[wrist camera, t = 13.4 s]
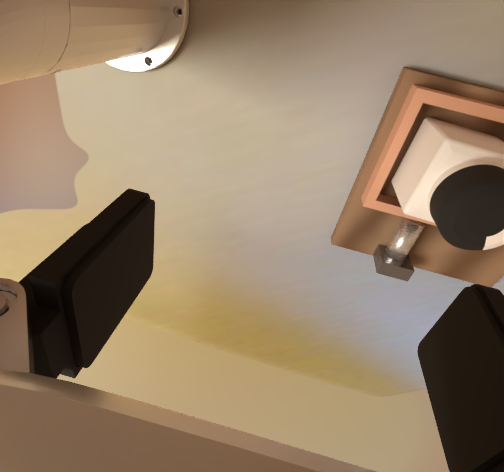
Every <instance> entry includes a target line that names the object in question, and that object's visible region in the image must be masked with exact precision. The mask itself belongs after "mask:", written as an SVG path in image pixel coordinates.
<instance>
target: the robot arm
mask: <svg viewBox="0 0 504 472" xmlns="http://www.w3.org/2000/svg"><path fill="white" fill-rule="evenodd" d="M179 9H181V10H182V15H180V14H179ZM188 17H189V0H0V85H1V84H4V83H9V82H13V81H17V80H22V79H27V78H31V77H36V76H42V75H47V74H52V73H56V72H61V71H65V70H70V69H74V68H79V67H84V66H89V65H93V64H98V63H103V62H105V63H107V64H109V65H111V66H112V67H115V68H117V69H120V70H123V71H128V72H145V71H149V70H153V69H155V68H157V67H159V66H161V65H163V64H165V63H166V62H167V61H168V60H169V59H171V58H172V56H173V55H174V54H175V53H176V51H177V50H178V49H179V47H180V45H181V43H182V41H183V39H184V36H185V32H186V29H187V25H188ZM150 58H151V59H152V61H153V63H152V62H151V61H150ZM154 219H155V202H154V200H151V199H150V196H149V194H148V193H144V192H140V191H137V190H133V189H128V190H126V191H125V192H124V193H123V194H121V195H120V196H119V197H118V198H117V199H116V200H115V201H113V202H112V203H111V204H110V205H109V206H108V207H107V208H105V209H104V210H103V211H102V212H101V213H100V214H99V215H98V216H96V217H95V218H94V219H93V220H92V221H91V222H90V223H88V224H86V225H84V226H83V227H82V228H81V229H79V230H78V231H77V232H76V233H75V234H74V235H73V236H71V237H70V238H69V239H68V240H67V241H66V242H65V243H63V244H62V245H61V246H60V247H59V248H58V249H56V250H55V251H54V252H53V253H52V254H51V255H50V256H48V257H47V258H46V259H45V260H44V261H43V262H41V263H40V264H39V265H38V266H37V267H36V268H35V269H33V270H32V271H31V272H30V273H29V274H28V275H27V276H25V277H24V278H23V279H22V280H21V281H20V282H16V281H13V280H10V279H4V278H0V472H376V471H373V470H369V469H366V468H363V467H359V466H356V465H352V464H349V463H346V462H343V461H339V460H336V459H333V458H329V457H326V456H323V455H319V454H316V453H312V452H309V451H306V450H303V449H299V448H296V447H292V446H289V445H286V444H283V443H279V442H276V441H273V440H269V439H266V438H262V437H259V436H256V435H253V434H249V433H246V432H242V431H239V430H236V429H232V428H229V427H226V426H222V425H219V424H216V423H212V422H209V421H205V420H202V419H198V418H195V417H192V416H188V415H185V414H182V413H178V412H175V411H171V410H168V409H164V408H161V407H158V406H154V405H151V404H148V403H144V402H141V401H137V400H134V399H130V398H126V397H123V396H119V395H116V394H112V393H108V392H105V391H101V390H97V389H94V388H90V387H87V386H83V385H79V384H76V383H72V382H68V381H63V380H59V379H56V378H57V377H58V376H59V374H62V375H65V376H69V377H72V378H76V376H77V375H78V373H79V372H80V370H81V369H82V367H84V368H88V367H89V366H90V365H91V364H92V363H93V361H94V360H95V358H96V357H97V355H98V354H99V352H100V351H101V349H102V348H103V346H104V345H105V343H106V342H107V340H108V339H109V337H110V336H111V334H112V333H113V331H114V330H115V328H116V327H117V325H118V324H119V323H120V321H121V319H122V318H123V317H124V315H125V314H126V312H127V311H128V309H129V308H130V306H131V305H132V303H133V302H134V300H135V299H136V297H137V296H138V294H139V293H140V291H141V290H142V288H143V287H144V285H145V284H146V282H147V281H148V279H149V278H150V276H151V274H152V270H153V254H154ZM418 357H419V360H420V364H421V368H422V372H423V375H424V379H425V383H426V386H427V390H428V394H429V398H430V401H431V405H432V409H433V412H434V416H435V420H436V423H437V427H438V431H439V435H440V438H441V442H442V446H443V449H444V453H445V457H446V460H447V464H448V468H449V471H450V472H504V295H503V294H502V293H501V291H500V290H498V289H495V288H491V287H487V286H484V285H480V284H474V285H472V286H471V287H466V288H464V289H463V290H462V291H461V293H460V294H459V295H458V296H457V297H456V299H455V300H454V301H453V302H452V304H451V305H450V306H449V307H448V309H447V310H446V311H445V312H444V314H443V315H442V316H441V317H440V318H439V320H438V321H437V322H436V323H435V325H434V326H433V327H432V328H431V330H430V331H429V332H428V333H427V335H426V336H425V337H424V338H423V339H422V341H421V342H420V344H419V346H418Z"/></svg>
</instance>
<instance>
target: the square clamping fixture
mask: <svg viewBox="0 0 504 472" xmlns="http://www.w3.org/2000/svg"><path fill="white" fill-rule="evenodd" d="M427 117H430V118H434V119H437V120H441V121H444V122H447V123H451V124H454V125H458V126H461V127H465V128H468V129H472V130H475V131H479V132H482V133H485V134H489V135H492V136H496V137H498V138H499V139H500V140H502V141H503V142H504V92H501V91H497V90H493V89H489V88H485V87H481V86H477V85H473V84H469V83H465V82H461V81H457V80H453V79H449V78H445V77H441V76H437V75H433V74H429V73H425V72H421V71H417V70H413V69H409V68H405V67H403V69H402V72H401V74H400V76H399V79H398V81H397V84H396V86H395V88H394V91H393V93H392V95H391V98H390V100H389V102H388V105H387V107H386V110H385V112H384V114H383V117H382V119H381V121H380V124H379V126H378V128H377V131H376V133H375V135H374V138H373V140H372V143H371V145H370V147H369V150H368V152H367V154H366V157H365V159H364V161H363V164H362V166H361V169H360V171H359V173H358V176H357V178H356V180H355V183H354V185H353V187H352V190H351V192H350V195H349V197H348V199H347V202H346V204H345V206H344V209H343V211H342V213H341V216H340V218H339V221H338V223H337V225H336V228H335V230H334V232H333V235H332V237H331V244H333V245H337V246H340V247H344V248H347V249H351V250H355V251H358V252H362V253H366V254H369V255H373V256H374V261H375V266H376V272H377V273H379V274H383V275H386V276H390V277H394V278H397V279H401V280H405V281H408V280H409V279H410V277H411V276H412V274H413V272H414V268H413V267H417V268H420V269H424V270H428V271H431V272H435V273H439V274H442V275H446V276H450V277H453V278H457V279H461V280H464V281H468V282H472V283H475V284H480V285H484V286H487V287H491V288H492V286H493V285H494V284H495V283H496V282H497V281H498V280H499V278H500V277H501V276H502V275H503V274H504V245H501V246H499V247H496V248H492V249H487V250H476V251H473V250H464V249H460V248H457V247H455V246H452V245H451V244H449V243H448V242H447V241H446V240H445V239H444V238H443V237H442V235H441V234H440V232H439V230H438V228H437V226H436V224H435V223H433V222H429V221H426V220H422V219H419V218H416V217H412V216H409V215H406V214H404V213H403V210H402V208H401V205H400V203H399V200H398V198H397V195H396V192H395V190H394V187H393V185H392V182H391V181H392V178H393V177H394V175H395V173H396V171H397V169H398V167H399V165H400V163H401V162H402V160H403V158H404V156H405V154H406V152H407V150H408V148H409V146H410V145H411V143H412V141H413V139H414V137H415V135H416V133H417V131H418V130H419V128H420V126H421V124H422V122H423V120H424V119H425V118H427Z"/></svg>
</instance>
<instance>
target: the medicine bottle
mask: <svg viewBox="0 0 504 472" xmlns="http://www.w3.org/2000/svg"><path fill="white" fill-rule="evenodd" d="M391 182H392V185H393V187H394V190H395V192H396V195H397V198H398V200H399V203H400V205H401V208H402V210H403V213H404V214H406V215H409V216H412V217H416V218H419V219H422V220H426V221H429V222H433V223H435V224H436V226H437V228H438V230H439V232H440V234H441V235H442V237H443V238H444V239H445V240H446V241H447V242H448V243H449V244H451V245H452V246H455V247H457V248H460V249H464V250H473V251H476V250H487V249H492V248H496V247H499V246H501V245H504V142H503V141H502V140H500V139H499V138H498V137H496V136H492V135H489V134H485V133H482V132H479V131H475V130H472V129H468V128H465V127H461V126H458V125H454V124H451V123H447V122H444V121H441V120H437V119H434V118H430V117H427V118H425V119H424V120H423V122H422V124H421V126H420V128H419V130H418V131H417V133H416V135H415V137H414V139H413V141H412V143H411V145H410V146H409V148H408V150H407V152H406V154H405V156H404V158H403V160H402V162H401V163H400V165H399V167H398V169H397V171H396V173H395V175H394V177H393V178H392V181H391Z"/></svg>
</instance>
